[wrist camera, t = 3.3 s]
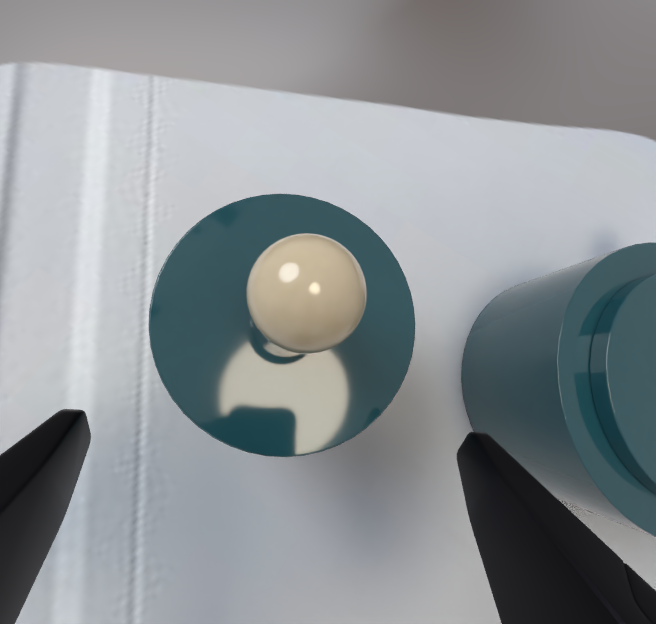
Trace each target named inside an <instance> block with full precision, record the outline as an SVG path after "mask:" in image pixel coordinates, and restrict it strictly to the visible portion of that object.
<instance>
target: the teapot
mask: <svg viewBox="0 0 656 624" xmlns="http://www.w3.org/2000/svg"><path fill="white" fill-rule="evenodd" d="M462 390H463V398H464V402H465V407H466V411H467V414H468V417H469V420H470V423H471V425H472V427H473V429H474V432H484V433H487V434H488V435H490V436H491V437H492V438H493V439H494V440H495V441H496V442H497V443H498V444H499V445H500V446H501V447H503V448H504V449H505V450H506V451H507V452H508V453H509V454H510V455H511V456H512V457H513V458H514V459H515V460H516V461H517V462H519V463H520V464H521V465H522V466H523V467H524V468H525V469H526V470H527V471H528V472H529V473H530V474H531V475H532V476H533V477H534V478H536V479H537V480H538V481H539V482H540V483H541V484H542V485H543V486H544V487H545V488H546V489H547V490H548V491H549V492H550V493H551V494H553V495H554V496H555V497H556V498H557V499H559V500H562V501H564V502H567V503H569V504H572V505H574V506H577V507H580V508H582V509H585V510H587V511H590V512H592V513H595V514H598V515H600V516H603V517H605V518H608V519H610V520H613V521H615V522H618V523H621V524H623V525H626V526H628V527H631V528H633V529H636V530H639V531H641V532H644V533H646V534H649V535H651V536H654V537H656V243H642V244H635V245H632V246H628V247H625V248H622V249H619V250H616V251H613V252H610V253H607V254H605V255H602V256H599V257H596V258H593V259H590V260H587V261H585V262H582V263H579V264H576V265H573V266H570V267H568V268H565V269H562V270H559V271H556V272H553V273H551V274H548V275H545V276H542V277H539V278H536V279H533V280H531V281H528V282H525V283H522V284H519V285H516V286H514V287H512V288H510V289H508V290H506V291H504V292H503V293H501V294H500V295H498V296H497V297H495V298H494V299H493V300H492V301H491V302H490V303H489V304H488V305H487V306H486V307H485V308H484V310H483V311H482V312H481V313H480V315H479V316H478V318H477V320H476V321H475V323H474V325H473V326H472V329H471V331H470V334H469V336H468V338H467V342H466V346H465V349H464V354H463V361H462Z"/></svg>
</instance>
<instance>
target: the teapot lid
mask: <svg viewBox="0 0 656 624" xmlns="http://www.w3.org/2000/svg"><path fill="white" fill-rule="evenodd" d="M149 335H150V345H151V350H152V354H153V358H154V362H155V366H156V368H157V370H158V373H159V375H160V378H161V380H162V383H163V384H164V386H165V388H166V389H167V391H168V393H169V394H170V396H171V398H172V399H173V401H174V402H175V403H176V404H177V406H178V407H179V408H180V409H181V411H182V412H183V413H184V414H185V415H186V416H187V417H188V418H189V419H190V420H191V421H192V422H193V423H194V424H196V425H197V426H198V427H199V428H200V429H202V430H203V431H205V432H206V433H208V434H209V435H210V436H212V437H213V438H215V439H217V440H219V441H221V442H223V443H225V444H227V445H229V446H231V447H234V448H237V449H240V450H243V451H245V452H248V453H253V454H259V455H264V456H274V457H293V456H304V455H309V454H313V453H317V452H322V451H324V450H327V449H330V448H332V447H335V446H338V445H340V444H342V443H344V442H345V441H347V440H349V439H351V438H353V437H355V436H356V435H357V434H359V433H360V432H362V431H363V430H364V429H366V428H367V427H368V426H369V425H371V424H372V423H373V422H374V421H375V420H376V419H377V418H378V417H379V416H380V415H381V414H382V413H383V411H384V410H385V409H386V408H387V406H388V405H389V404H390V403H391V401H392V400H393V398H394V397H395V395H396V393H397V392H398V390H399V388H400V387H401V384H402V382H403V380H404V378H405V375H406V373H407V370H408V367H409V364H410V360H411V357H412V352H413V346H414V338H415V317H414V307H413V302H412V297H411V292H410V289H409V286H408V283H407V281H406V278H405V275H404V273H403V271H402V269H401V267H400V265H399V263H398V261H397V260H396V258H395V257H394V255H393V254H392V252H391V250H390V249H389V248H388V247H387V245H386V244H385V243H384V242H383V240H382V239H381V238H380V237H379V236H378V235H377V234H376V233H375V232H374V231H373V230H372V229H371V228H370V227H369V226H367V225H366V224H365V223H363V222H362V221H361V220H360V219H358V218H357V217H355V216H354V215H352V214H350V213H349V212H347V211H345V210H344V209H342V208H339V207H337V206H335V205H333V204H330V203H328V202H325V201H322V200H318V199H315V198H311V197H306V196H300V195H291V194H270V195H261V196H255V197H250V198H246V199H243V200H240V201H237V202H234V203H231V204H229V205H227V206H224V207H222V208H220V209H218V210H216V211H214V212H213V213H211V214H210V215H208V216H207V217H205V218H204V219H202V220H201V221H199V222H198V223H197V224H196V225H195V226H194V227H192V228H191V229H190V230H189V231H188V232H187V233H186V234H185V235H184V236H183V237H182V238H181V240H180V241H179V242H178V243H177V244H176V245H175V247H174V248H173V250H172V251H171V253H170V254H169V256H168V257H167V259H166V261H165V263H164V265H163V267H162V269H161V271H160V273H159V275H158V278H157V281H156V284H155V287H154V290H153V293H152V299H151V304H150V310H149Z"/></svg>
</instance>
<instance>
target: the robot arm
mask: <svg viewBox="0 0 656 624" xmlns="http://www.w3.org/2000/svg"><path fill="white" fill-rule="evenodd" d="M90 440H91V433H90V429H89V425H88V421H87V417H86V413H85V412H84V411H83V410H74V409H63V410H61V411H59V412H57V413H56V414H55V415H53V416H52V417H51V418H49V419H48V420H47V421H45V422H44V423H43V424H41V425H40V426H39V427H37V428H36V429H35V430H33V431H32V432H31V433H29V434H28V435H27V436H25V437H24V438H23V439H21V440H20V441H19V442H17V443H16V444H15V445H13V446H12V447H11V448H9V449H8V450H7V451H5V452H4V453H3V454H1V455H0V624H15V622H16V620H17V618H18V616H19V614H20V611H21V609H22V607H23V605H24V603H25V601H26V599H27V596H28V594H29V592H30V590H31V588H32V586H33V584H34V582H35V579H36V577H37V575H38V573H39V571H40V569H41V567H42V564H43V562H44V560H45V558H46V556H47V554H48V552H49V549H50V547H51V545H52V543H53V541H54V539H55V537H56V535H57V532H58V530H59V528H60V526H61V524H62V521H63V519H64V517H65V514H66V511H67V509H68V506H69V503H70V500H71V497H72V494H73V491H74V488H75V486H76V483H77V480H78V477H79V474H80V471H81V468H82V465H83V462H84V459H85V456H86V454H87V451H88V448H89V445H90ZM457 462H458V467H459V471H460V476H461V481H462V486H463V491H464V496H465V500H466V505H467V510H468V514H469V518H470V522H471V526H472V529H473V532H474V536H475V539H476V542H477V545H478V549H479V552H480V555H481V558H482V561H483V565H484V568H485V571H486V574H487V578H488V581H489V584H490V587H491V591H492V594H493V597H494V600H495V603H496V607H497V610H498V613H499V616H500V620H501V623H502V624H656V591H655V590H654V589H653V588H652V587H651V586H650V585H649V584H647V583H646V582H645V581H644V580H643V579H642V578H641V577H640V576H639V575H638V574H637V573H636V572H635V571H634V570H632V569H631V568H630V567H629V566H628V565H627V564H625V563H623V560H622V559H621V558H620V557H618V556H617V555H616V554H615V553H614V552H613V551H612V550H611V549H610V548H609V547H608V546H607V545H606V544H605V543H604V542H603V541H601V540H600V539H599V538H598V537H597V536H596V535H595V534H594V533H593V532H592V531H591V530H590V529H589V528H588V527H587V526H586V525H584V524H583V523H582V522H581V521H580V520H579V519H578V518H577V517H576V516H575V515H574V514H573V513H572V512H571V511H570V510H568V509H567V508H566V507H565V506H564V505H563V504H562V503H561V502H560V501H559V500H558V499H557V498H556V497H555V496H554V495H553V494H551V493H550V492H549V491H548V490H547V489H546V488H545V487H544V486H543V485H542V484H541V483H540V482H539V481H538V480H537V479H536V478H534V477H533V476H532V475H531V474H530V473H529V472H528V471H527V470H526V469H525V468H524V467H523V466H522V465H521V464H520V463H519V462H517V461H516V460H515V459H514V458H513V457H512V456H511V455H510V454H509V453H508V452H507V451H506V450H505V449H504V448H503V447H501V446H500V445H499V444H498V443H497V442H496V441H495V440H494V439H493V438H492V437H491V436H490V435H488V434H487V433H484V432H470V433H469V434H468V435H467V437H466V438H465V440H464V441H463V443H462V445H461V446H460V448H459V449H458V452H457Z"/></svg>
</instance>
